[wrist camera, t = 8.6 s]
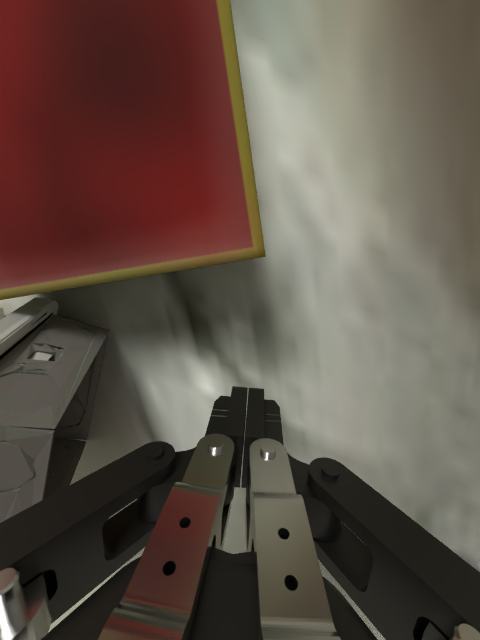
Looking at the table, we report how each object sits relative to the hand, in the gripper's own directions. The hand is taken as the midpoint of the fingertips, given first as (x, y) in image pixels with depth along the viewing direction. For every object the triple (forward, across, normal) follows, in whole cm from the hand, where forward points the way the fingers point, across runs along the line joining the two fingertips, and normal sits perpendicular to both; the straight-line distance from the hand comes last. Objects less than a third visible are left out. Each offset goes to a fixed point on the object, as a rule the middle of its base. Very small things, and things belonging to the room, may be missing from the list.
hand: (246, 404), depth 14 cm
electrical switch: (+2, +10, +1) cm, 10 cm away
